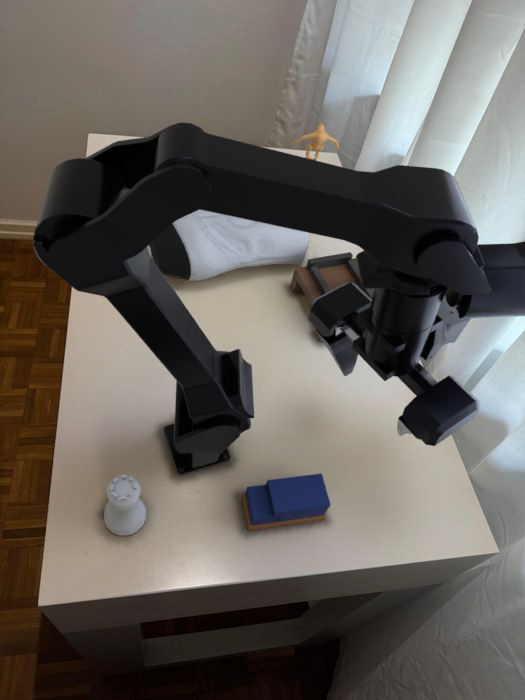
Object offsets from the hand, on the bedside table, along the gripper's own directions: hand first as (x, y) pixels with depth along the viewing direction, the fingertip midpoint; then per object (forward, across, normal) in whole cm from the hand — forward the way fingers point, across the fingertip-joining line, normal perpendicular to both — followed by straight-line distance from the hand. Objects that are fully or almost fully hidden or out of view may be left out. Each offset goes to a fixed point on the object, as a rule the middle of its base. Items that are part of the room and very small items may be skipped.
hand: (374, 402), depth 63 cm
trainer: (+10, -1, +13) cm, 16 cm away
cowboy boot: (+9, +43, -5) cm, 45 cm away
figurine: (+11, +47, -26) cm, 55 cm away
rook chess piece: (+7, +7, +28) cm, 30 cm away
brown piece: (+12, +20, -12) cm, 26 cm away
